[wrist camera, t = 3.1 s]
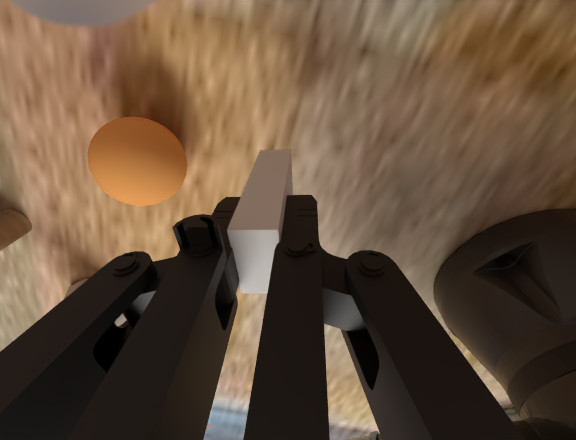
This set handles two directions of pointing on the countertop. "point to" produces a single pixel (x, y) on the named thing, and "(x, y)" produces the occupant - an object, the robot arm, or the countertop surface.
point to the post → (12, 227)
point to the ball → (137, 161)
